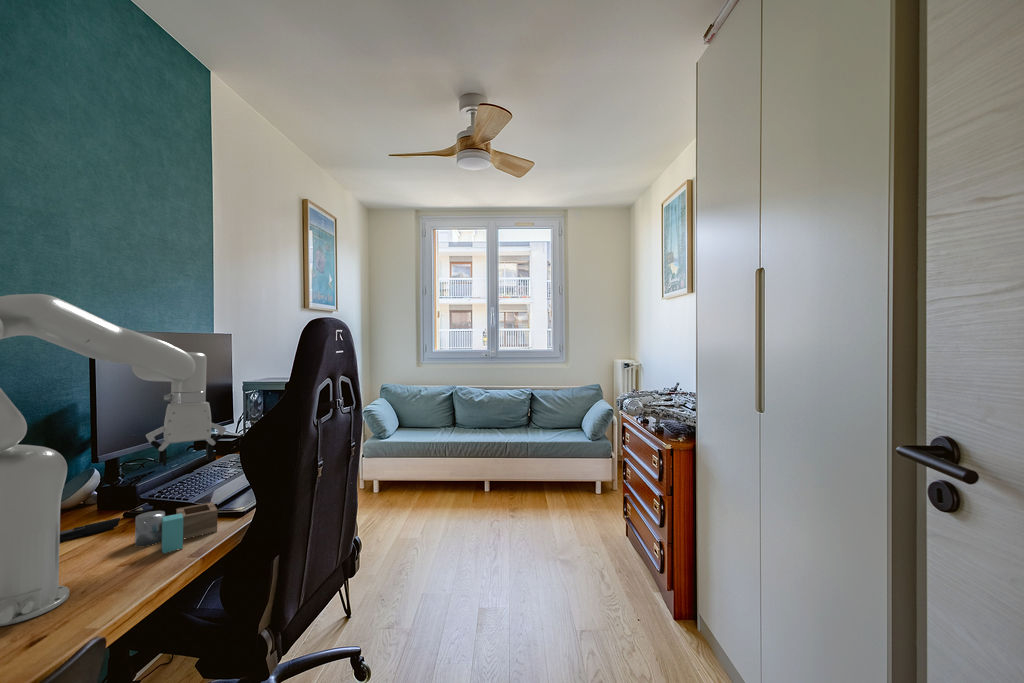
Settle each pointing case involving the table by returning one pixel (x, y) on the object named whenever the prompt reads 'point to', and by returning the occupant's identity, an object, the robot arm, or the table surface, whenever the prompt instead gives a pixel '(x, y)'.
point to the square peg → (172, 532)
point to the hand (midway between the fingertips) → (186, 462)
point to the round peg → (148, 528)
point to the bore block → (198, 519)
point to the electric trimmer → (88, 529)
